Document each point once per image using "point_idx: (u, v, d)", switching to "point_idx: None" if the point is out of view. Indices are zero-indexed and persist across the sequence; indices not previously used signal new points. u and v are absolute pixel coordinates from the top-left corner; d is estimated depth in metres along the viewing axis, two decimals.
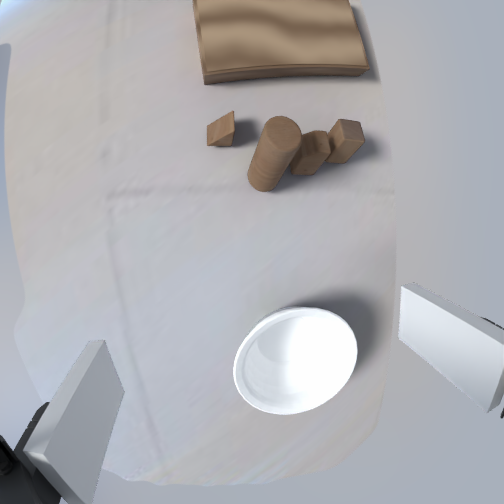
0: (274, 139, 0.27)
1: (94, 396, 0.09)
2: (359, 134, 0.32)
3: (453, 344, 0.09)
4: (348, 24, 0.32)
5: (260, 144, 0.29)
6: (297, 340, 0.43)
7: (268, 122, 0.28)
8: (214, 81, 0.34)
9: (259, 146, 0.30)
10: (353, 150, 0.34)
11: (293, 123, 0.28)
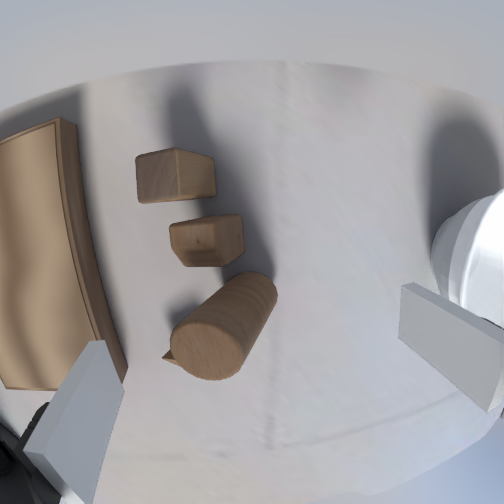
0: (222, 371, 0.15)
1: (94, 396, 0.09)
2: (162, 161, 0.17)
3: (453, 344, 0.09)
4: None
5: None
6: None
7: (189, 371, 0.16)
8: (122, 360, 0.24)
9: None
10: (193, 160, 0.19)
11: (180, 332, 0.15)
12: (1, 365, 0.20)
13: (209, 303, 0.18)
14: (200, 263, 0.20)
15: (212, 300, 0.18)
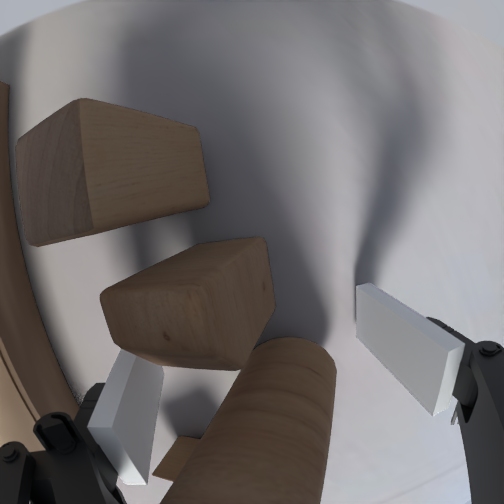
0: None
1: (144, 375, 0.10)
2: (54, 137, 0.05)
3: (400, 344, 0.10)
4: None
5: None
6: None
7: None
8: None
9: None
10: (142, 129, 0.07)
11: None
12: None
13: (214, 467, 0.06)
14: (185, 365, 0.08)
15: (220, 453, 0.07)
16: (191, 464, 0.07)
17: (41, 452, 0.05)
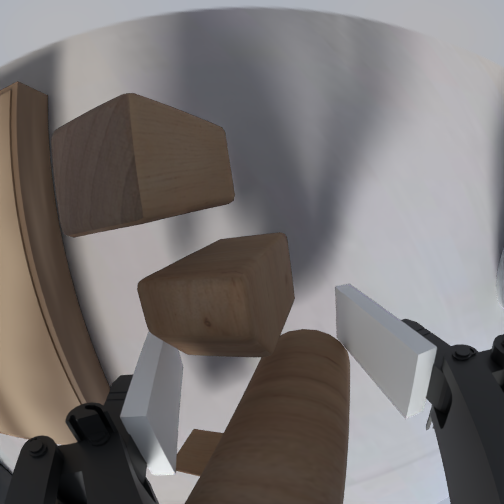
0: None
1: (168, 366, 0.11)
2: (100, 129, 0.06)
3: (374, 346, 0.10)
4: None
5: None
6: None
7: None
8: None
9: None
10: (181, 127, 0.08)
11: None
12: None
13: (247, 450, 0.07)
14: (217, 353, 0.09)
15: (252, 437, 0.07)
16: (223, 449, 0.07)
17: (69, 445, 0.06)
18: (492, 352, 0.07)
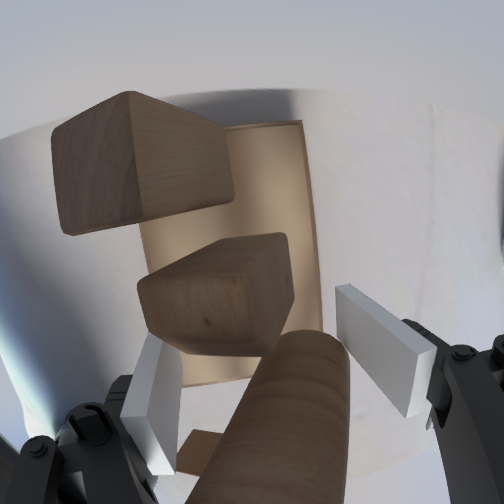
0: None
1: (168, 366, 0.10)
2: (100, 127, 0.06)
3: (374, 346, 0.10)
4: None
5: None
6: None
7: None
8: None
9: None
10: (181, 125, 0.08)
11: None
12: (187, 362, 0.26)
13: (248, 450, 0.07)
14: (217, 353, 0.09)
15: (252, 437, 0.07)
16: (222, 450, 0.07)
17: (69, 445, 0.06)
18: (492, 352, 0.07)
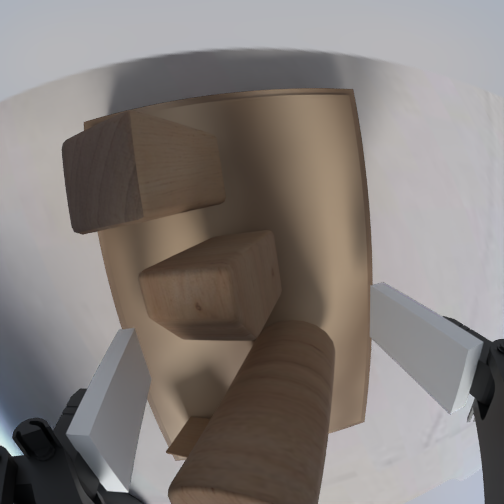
0: None
1: (128, 381, 0.10)
2: (106, 141, 0.07)
3: (417, 344, 0.10)
4: (217, 121, 0.13)
5: None
6: None
7: None
8: None
9: None
10: (175, 137, 0.09)
11: (185, 494, 0.06)
12: None
13: (234, 423, 0.08)
14: (208, 337, 0.10)
15: (239, 412, 0.09)
16: (213, 424, 0.09)
17: (23, 457, 0.05)
18: None
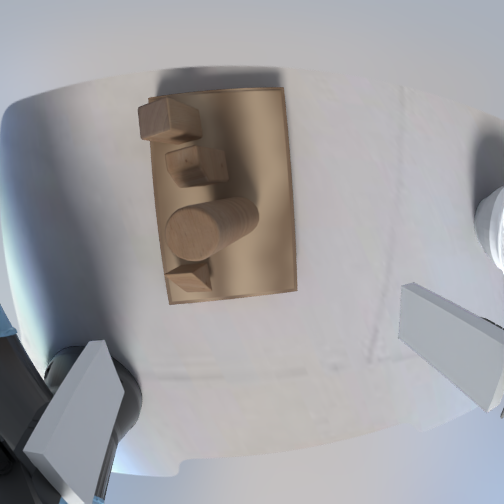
0: (204, 248, 0.20)
1: (94, 396, 0.09)
2: (157, 106, 0.21)
3: (453, 344, 0.09)
4: (213, 102, 0.28)
5: None
6: None
7: (179, 256, 0.21)
8: None
9: None
10: (181, 107, 0.23)
11: (171, 220, 0.20)
12: None
13: None
14: (190, 181, 0.24)
15: None
16: None
17: None
18: None
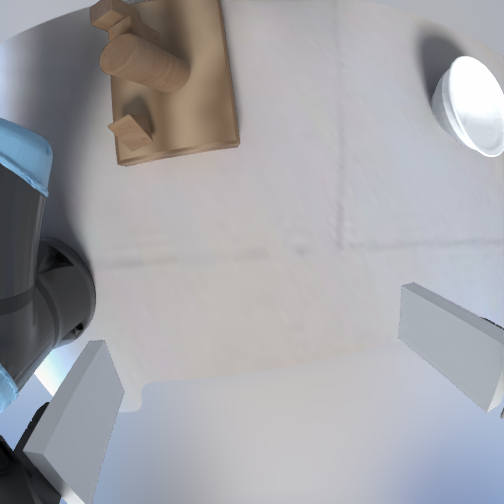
0: (126, 56, 0.19)
1: (94, 396, 0.09)
2: (103, 1, 0.20)
3: (453, 344, 0.09)
4: (161, 5, 0.27)
5: (136, 73, 0.22)
6: None
7: (109, 71, 0.20)
8: None
9: (138, 75, 0.22)
10: (121, 3, 0.22)
11: (104, 49, 0.19)
12: None
13: None
14: None
15: None
16: None
17: None
18: None
